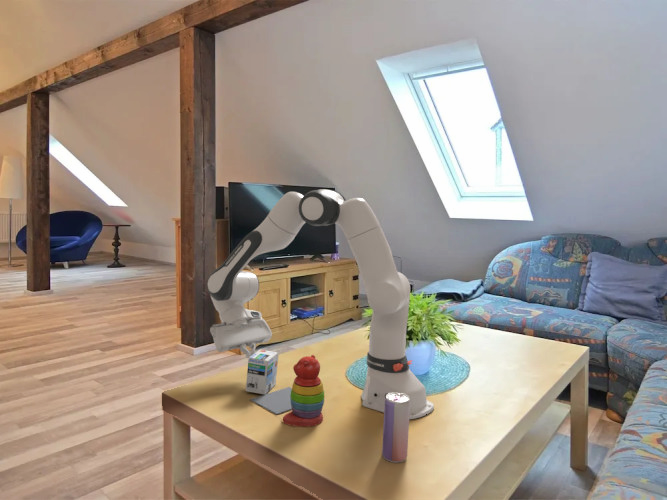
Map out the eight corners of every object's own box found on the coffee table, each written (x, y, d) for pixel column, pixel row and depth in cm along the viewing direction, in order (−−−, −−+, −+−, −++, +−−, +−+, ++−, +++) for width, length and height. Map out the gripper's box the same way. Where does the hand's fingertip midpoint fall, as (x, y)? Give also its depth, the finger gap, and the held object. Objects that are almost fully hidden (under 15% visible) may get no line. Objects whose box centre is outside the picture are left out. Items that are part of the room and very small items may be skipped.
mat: (316, 401, 150) (316, 399, 150) (277, 415, 140) (277, 413, 140) (289, 388, 159) (289, 386, 159) (250, 400, 149) (250, 399, 149)
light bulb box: (265, 395, 152) (268, 360, 151) (244, 391, 153) (247, 357, 152) (276, 384, 162) (279, 351, 161) (256, 380, 164) (259, 348, 163)
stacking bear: (299, 408, 145) (300, 348, 143) (330, 415, 141) (332, 354, 139) (279, 422, 135) (281, 359, 133) (312, 431, 131) (314, 366, 129)
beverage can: (379, 460, 118) (382, 399, 116) (385, 448, 123) (388, 390, 122) (403, 466, 116) (407, 404, 114) (409, 454, 121) (412, 394, 119)
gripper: (211, 320, 157) (228, 358, 151) (264, 311, 171) (281, 345, 166) (204, 330, 161) (220, 368, 155) (256, 321, 175) (272, 355, 169)
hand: (252, 356), depth 160 cm, fingers closed
